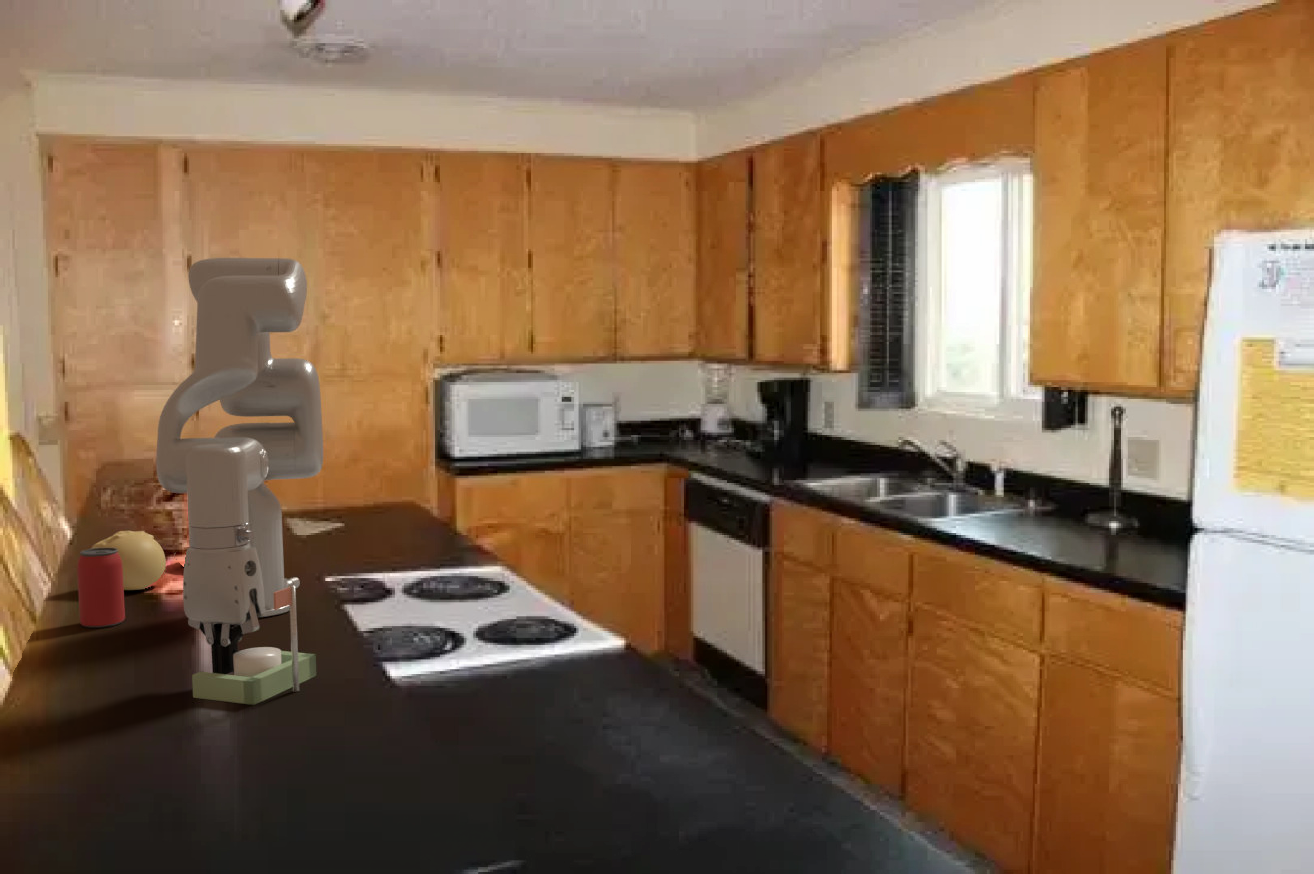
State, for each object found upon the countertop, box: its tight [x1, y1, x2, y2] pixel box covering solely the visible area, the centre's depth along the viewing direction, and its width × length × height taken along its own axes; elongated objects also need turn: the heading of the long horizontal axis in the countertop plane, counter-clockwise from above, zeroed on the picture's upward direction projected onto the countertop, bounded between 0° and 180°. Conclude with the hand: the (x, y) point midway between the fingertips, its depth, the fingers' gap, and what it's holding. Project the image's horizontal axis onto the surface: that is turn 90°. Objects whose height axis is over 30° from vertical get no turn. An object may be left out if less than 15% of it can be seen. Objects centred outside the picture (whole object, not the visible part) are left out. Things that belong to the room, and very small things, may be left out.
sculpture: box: [90, 530, 167, 591], centre depth 215 cm, size 12×12×11 cm
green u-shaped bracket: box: [191, 585, 317, 706], centre depth 155 cm, size 13×11×14 cm
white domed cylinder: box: [233, 646, 282, 677], centre depth 156 cm, size 6×6×4 cm
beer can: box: [76, 548, 126, 629], centre depth 189 cm, size 7×7×12 cm
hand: (225, 671), depth 157 cm, fingers closed
